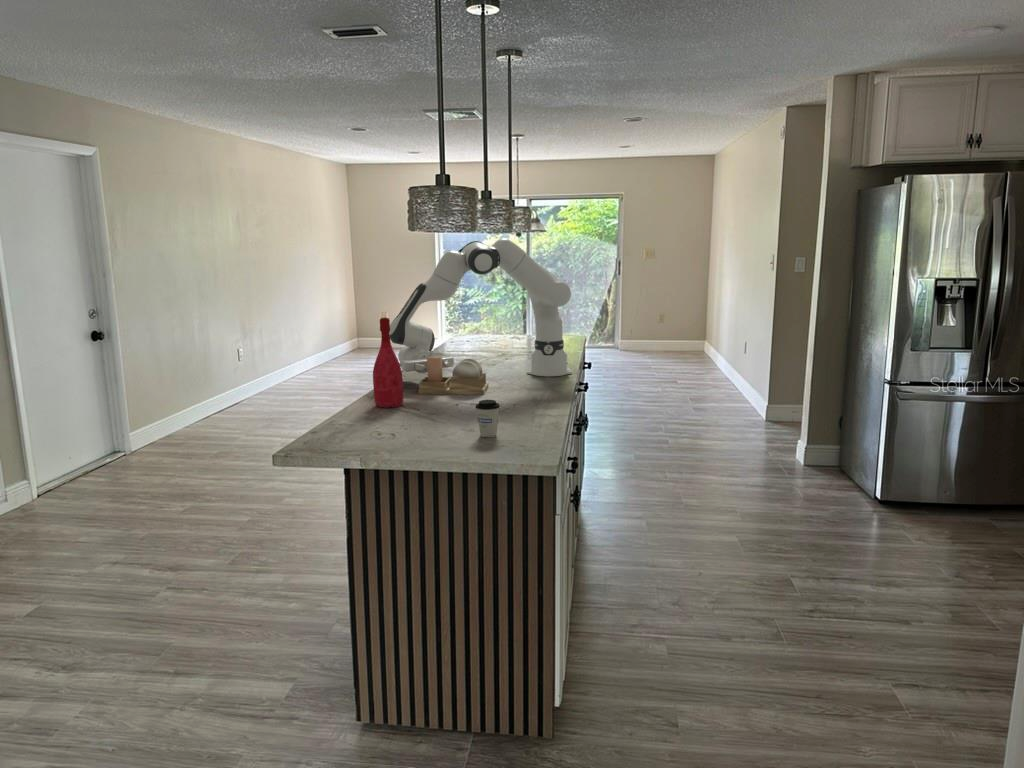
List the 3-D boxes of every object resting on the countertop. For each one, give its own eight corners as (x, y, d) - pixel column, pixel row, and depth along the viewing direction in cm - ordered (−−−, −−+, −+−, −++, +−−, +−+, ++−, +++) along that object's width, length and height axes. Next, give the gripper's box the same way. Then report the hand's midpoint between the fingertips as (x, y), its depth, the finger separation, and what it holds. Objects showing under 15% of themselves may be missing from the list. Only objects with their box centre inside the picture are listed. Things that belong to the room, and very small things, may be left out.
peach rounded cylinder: (428, 385, 259) (427, 356, 257) (443, 384, 259) (442, 356, 257) (427, 388, 254) (426, 358, 251) (442, 387, 254) (441, 358, 251)
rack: (426, 386, 263) (425, 357, 261) (488, 386, 261) (487, 357, 259) (418, 394, 251) (417, 363, 248) (483, 394, 248) (482, 363, 246)
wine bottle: (369, 407, 231) (364, 318, 225) (383, 401, 240) (378, 315, 234) (395, 409, 228) (391, 319, 222) (408, 402, 237) (404, 316, 231)
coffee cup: (487, 431, 200) (486, 397, 198) (505, 434, 195) (504, 400, 193) (471, 436, 194) (470, 402, 192) (489, 440, 190) (488, 405, 188)
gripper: (395, 355, 260) (409, 360, 248) (444, 350, 270) (459, 355, 258) (396, 372, 261) (409, 378, 250) (445, 366, 271) (460, 371, 260)
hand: (435, 366), depth 254 cm, fingers open, 8 cm apart
